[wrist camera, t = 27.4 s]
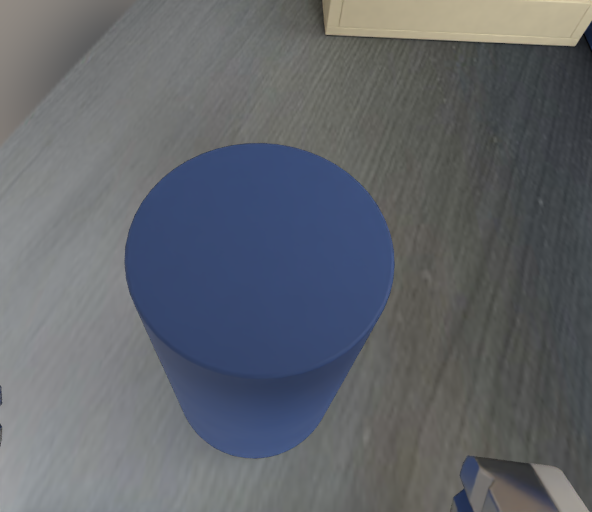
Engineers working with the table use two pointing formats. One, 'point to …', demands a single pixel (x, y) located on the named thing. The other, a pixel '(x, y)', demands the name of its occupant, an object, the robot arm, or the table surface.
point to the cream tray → (462, 20)
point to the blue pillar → (258, 289)
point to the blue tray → (589, 34)
